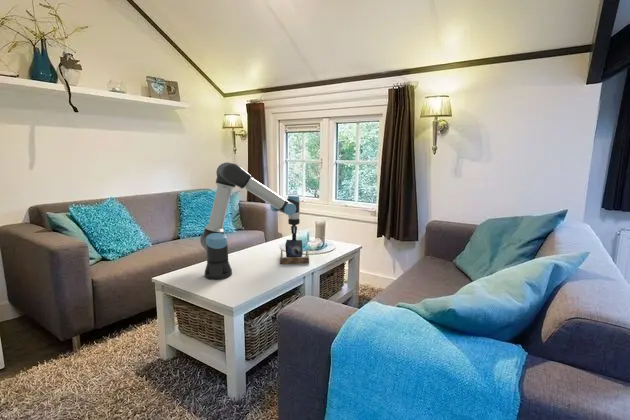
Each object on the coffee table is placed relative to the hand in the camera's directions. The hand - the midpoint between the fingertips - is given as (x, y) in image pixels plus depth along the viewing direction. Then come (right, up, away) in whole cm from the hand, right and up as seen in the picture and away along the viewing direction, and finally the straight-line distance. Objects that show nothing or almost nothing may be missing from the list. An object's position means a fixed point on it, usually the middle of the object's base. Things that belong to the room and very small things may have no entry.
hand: (294, 251), depth 232 cm
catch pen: (+1, -4, -9) cm, 10 cm away
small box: (0, -2, -4) cm, 4 cm away
